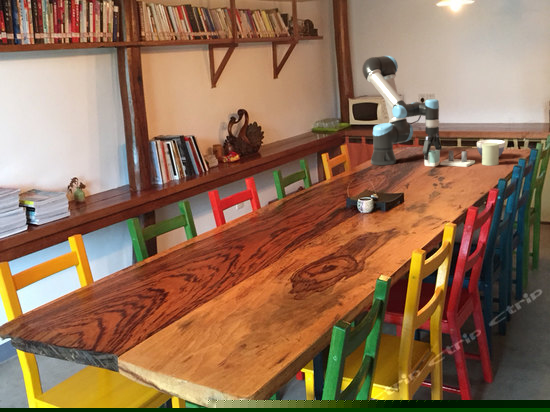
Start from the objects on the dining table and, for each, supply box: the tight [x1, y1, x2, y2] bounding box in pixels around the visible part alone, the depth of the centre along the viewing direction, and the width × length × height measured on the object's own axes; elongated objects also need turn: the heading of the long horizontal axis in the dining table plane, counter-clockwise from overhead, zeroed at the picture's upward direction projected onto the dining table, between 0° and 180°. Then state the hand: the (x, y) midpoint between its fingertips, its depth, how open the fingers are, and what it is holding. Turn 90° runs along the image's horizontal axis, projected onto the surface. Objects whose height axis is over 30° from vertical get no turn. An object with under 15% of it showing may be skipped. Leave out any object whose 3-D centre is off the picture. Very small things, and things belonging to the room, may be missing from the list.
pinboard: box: [439, 149, 476, 168], centre depth 369 cm, size 16×12×8 cm
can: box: [481, 143, 500, 167], centre depth 362 cm, size 9×9×12 cm
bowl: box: [476, 139, 506, 157], centre depth 380 cm, size 16×16×10 cm
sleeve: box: [424, 149, 440, 167], centre depth 370 cm, size 6×6×8 cm
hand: (432, 163), depth 371 cm, fingers open, 13 cm apart
